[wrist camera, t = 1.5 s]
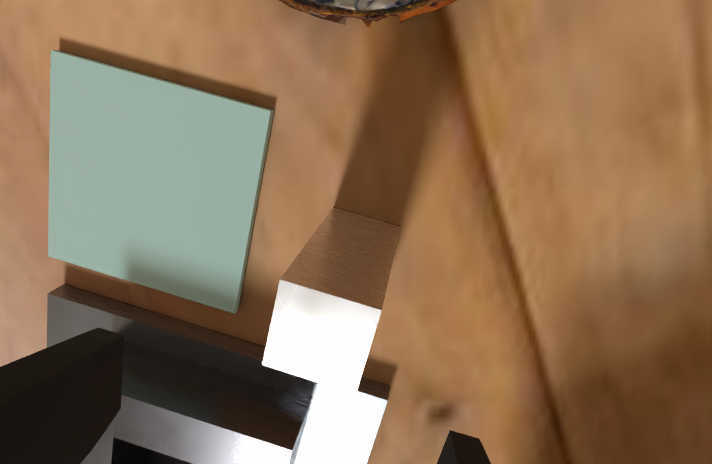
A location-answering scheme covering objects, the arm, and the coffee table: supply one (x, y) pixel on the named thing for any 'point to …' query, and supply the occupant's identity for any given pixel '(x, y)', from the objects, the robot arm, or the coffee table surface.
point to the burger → (365, 8)
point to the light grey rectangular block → (332, 301)
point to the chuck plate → (331, 404)
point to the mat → (153, 179)
